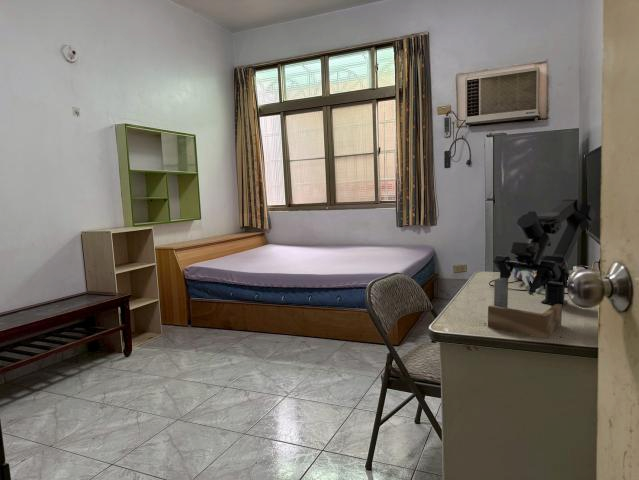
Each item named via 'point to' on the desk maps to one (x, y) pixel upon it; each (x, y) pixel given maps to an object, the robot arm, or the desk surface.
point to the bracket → (501, 292)
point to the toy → (525, 278)
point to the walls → (525, 320)
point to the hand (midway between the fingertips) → (514, 289)
